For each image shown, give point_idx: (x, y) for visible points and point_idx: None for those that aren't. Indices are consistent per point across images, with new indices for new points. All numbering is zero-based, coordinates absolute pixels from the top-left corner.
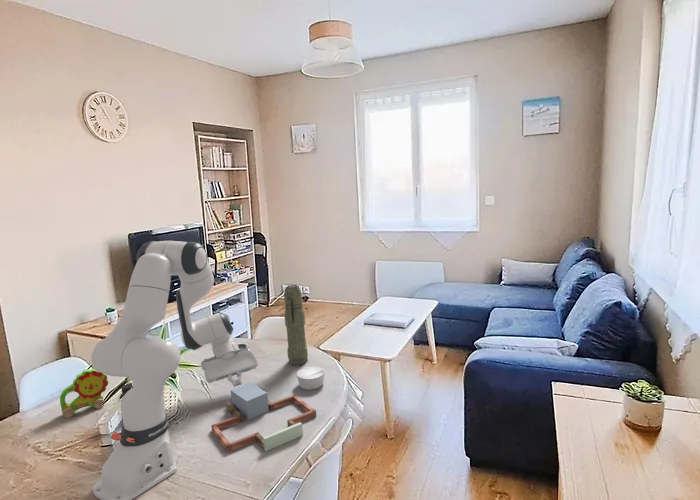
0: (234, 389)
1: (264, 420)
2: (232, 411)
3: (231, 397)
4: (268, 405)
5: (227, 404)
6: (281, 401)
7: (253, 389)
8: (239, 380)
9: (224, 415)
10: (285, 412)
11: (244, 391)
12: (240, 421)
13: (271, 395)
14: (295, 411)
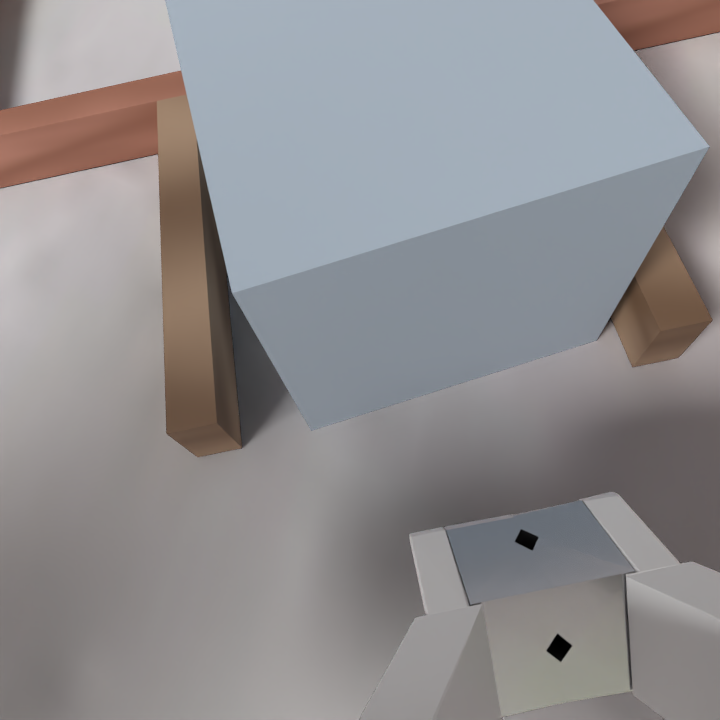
0: (621, 145)
1: None
2: None
3: (648, 249)
4: None
5: (689, 280)
6: (63, 100)
7: (275, 25)
8: (461, 572)
9: (698, 210)
10: (121, 54)
11: (433, 17)
12: None
13: (59, 410)
14: (50, 42)
